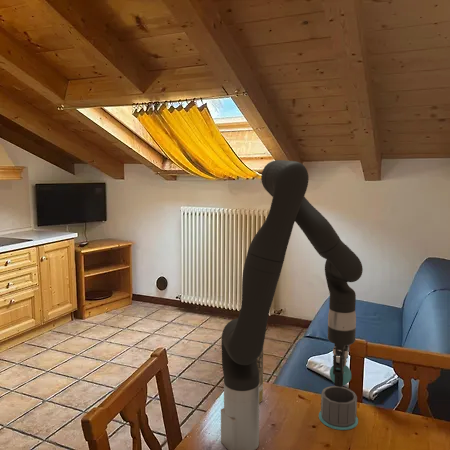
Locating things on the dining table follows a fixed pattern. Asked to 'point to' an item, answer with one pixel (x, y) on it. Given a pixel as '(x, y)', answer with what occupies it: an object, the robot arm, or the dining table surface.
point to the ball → (345, 376)
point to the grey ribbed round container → (338, 408)
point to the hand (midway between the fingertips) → (340, 380)
